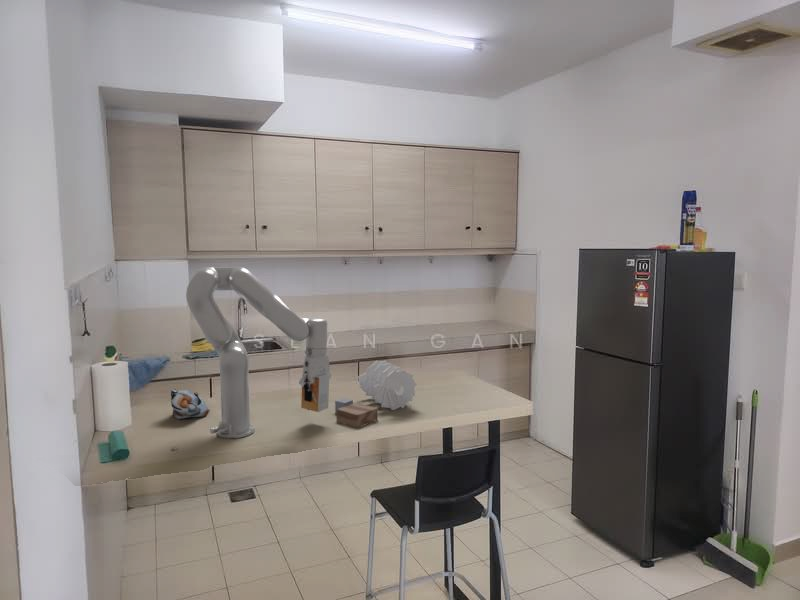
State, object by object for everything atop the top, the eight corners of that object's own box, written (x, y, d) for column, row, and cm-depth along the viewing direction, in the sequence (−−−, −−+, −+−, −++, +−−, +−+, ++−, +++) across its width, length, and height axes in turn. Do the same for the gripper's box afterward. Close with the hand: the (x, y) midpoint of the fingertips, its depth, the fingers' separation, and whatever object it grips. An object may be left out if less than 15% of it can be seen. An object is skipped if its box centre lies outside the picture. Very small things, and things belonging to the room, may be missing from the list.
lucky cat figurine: (216, 414, 214) (209, 388, 206) (190, 433, 206) (181, 407, 198) (193, 397, 221) (185, 372, 213) (167, 415, 214) (157, 390, 206)
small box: (300, 408, 202) (301, 374, 201) (311, 404, 207) (312, 371, 206) (318, 412, 198) (319, 377, 197) (328, 408, 203) (329, 374, 202)
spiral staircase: (384, 404, 241) (409, 418, 219) (350, 391, 234) (373, 404, 211) (399, 365, 244) (426, 375, 221) (366, 352, 236) (390, 360, 214)
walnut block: (357, 428, 200) (357, 415, 199) (336, 421, 207) (336, 409, 206) (377, 420, 208) (377, 408, 208) (356, 414, 215) (356, 402, 215)
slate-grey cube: (344, 415, 214) (344, 403, 213) (335, 413, 217) (335, 400, 216) (353, 412, 218) (353, 400, 217) (343, 409, 221) (343, 397, 220)
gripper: (306, 356, 191) (305, 406, 193) (339, 350, 205) (338, 396, 207) (291, 353, 196) (290, 401, 197) (325, 347, 210) (323, 392, 212)
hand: (315, 398), depth 202 cm, fingers closed on small box, 6 cm apart
